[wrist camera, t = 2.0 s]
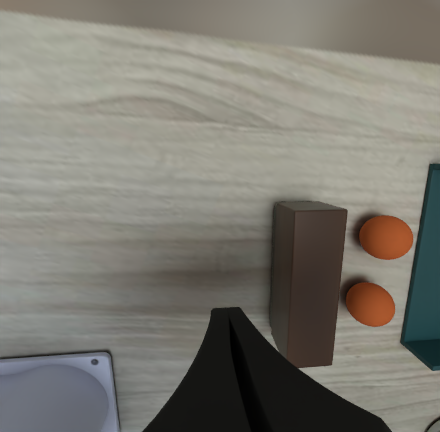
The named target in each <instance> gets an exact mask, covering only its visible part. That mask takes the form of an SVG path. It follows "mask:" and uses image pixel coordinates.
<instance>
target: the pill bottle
mask: <svg viewBox="0 0 440 432" xmlns="http://www.w3.org/2000/svg"><path fill="white" fill-rule="evenodd" d="M428 432H440V420H439V421H437V422H436V423H435V424H434V425H432V426H431V428H430V429H429V430H428Z"/></svg>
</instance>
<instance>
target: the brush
mask: <svg viewBox="0 0 440 432" xmlns="http://www.w3.org/2000/svg"><path fill="white" fill-rule="evenodd" d="M347 212H348V211H347V209H344V208H340V207H336V206H333V205H329V204H326V203H322V202H319V201H316V202H312V201H306V202H278V203H276V206H275V208H274V229H273V256H272V284H271V311H270V327H271V334H272V336H273V339H274V341H275V343H276V346H277V348H278V350H279V353H280V354H281V355H282V356H283V357H285V358H286V359H287V360H288V361H289V362H291V363H292V364H293V365H294V366H295V367H297V368H305V367H317V366H329V365H332V360H333V351H334V341H335V331H336V321H337V311H338V301H339V291H340V281H341V271H342V261H343V251H344V241H345V231H346V221H347Z"/></svg>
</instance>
